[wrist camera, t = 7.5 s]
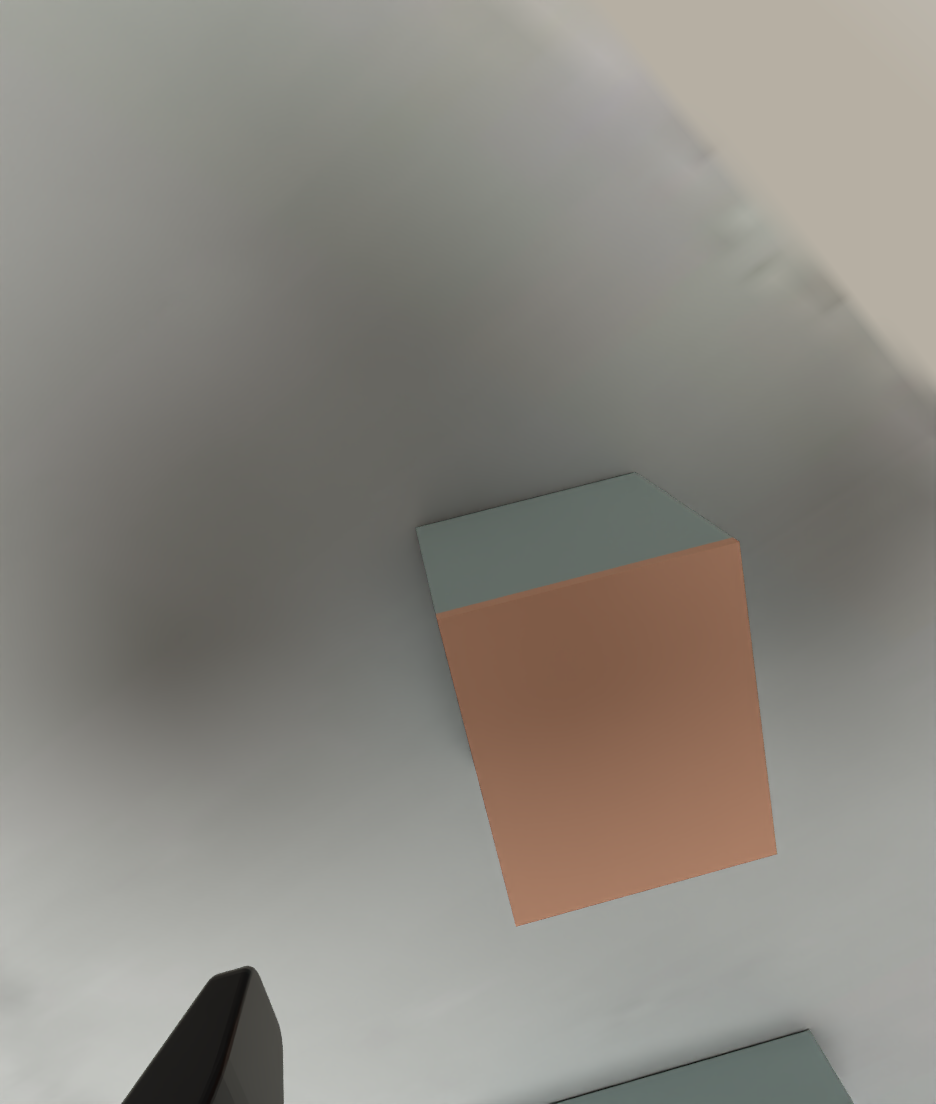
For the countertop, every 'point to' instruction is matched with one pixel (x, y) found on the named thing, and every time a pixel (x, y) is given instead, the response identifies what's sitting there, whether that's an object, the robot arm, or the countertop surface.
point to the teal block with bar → (739, 1079)
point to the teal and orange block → (603, 691)
